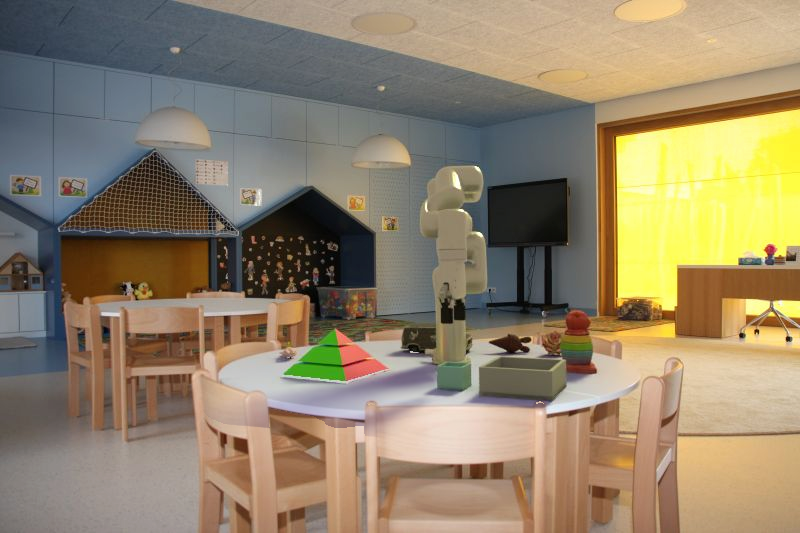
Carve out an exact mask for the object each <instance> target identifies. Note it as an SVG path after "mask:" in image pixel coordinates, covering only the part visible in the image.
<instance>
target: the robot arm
mask: <svg viewBox="0 0 800 533" xmlns="http://www.w3.org/2000/svg"><path fill="white" fill-rule="evenodd" d="M483 189H484V176H483V171H482V170H481V169H480V168H479V167H477V166H475V165H455V166H454V165H450V166H444V167H442V168H440V169H439V170H438V171H437V172H436V175H435V177H433V178H431V179H430V180H428V182H427V186H426V192H427V198H426V199H425V200H424V201H423V202H422V205H421V207H420V212H419V229H420V233H421V235H422V236H423V237H424V238H425V239H431V240H432V239H435V242H436V243H435V244H436V245H435V246H436V255H437V258H438V259H437V260H438V261H437V263H438V266H436V267H435V268H434V269H433V272H432V277H431V278H432V285H433V291H434V299H435V300H434V301H435V324H436V348H435V349H426V350H424V355H425V356H432V358H431V363H432V364H434V365H437V366H438V365H440V364H443V363H445V362H458V363H471V362H472V359H471V358H470V357H467V351H466V334H467V332H466V320H467V319H466V318H467V315H466V313H467V312H466V309H467V307H466V302H467V301H466V297H467V296H466V295H469V294H470V295H474V294H475V295H476V294H483V293H484V292H485V291H486V290H487V286H488V267H487V266H488V265H487V246H486V238H485V237H484V235H483V234H482V233H481V232H479V231H473V218H472V217H471V215H470V214H469V213H468V212H467V211H465V210H464V209H461V208H462V207H463V205H464V203H477V202H478V201H480V199H481V197H482V193H483ZM467 262H471V263H470V264H469V263H467ZM466 263H467V264H466Z"/></svg>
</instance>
